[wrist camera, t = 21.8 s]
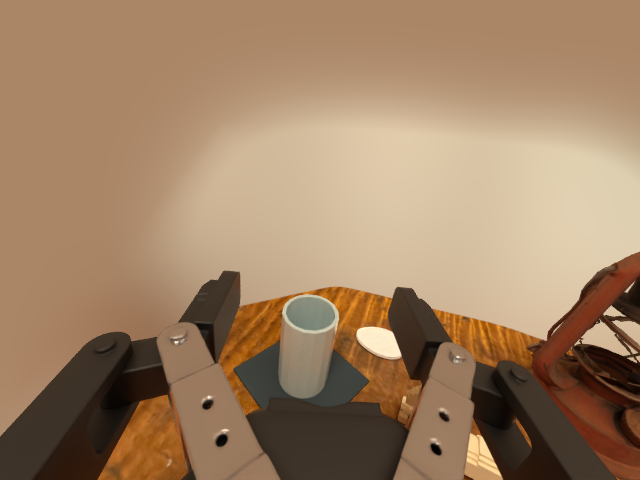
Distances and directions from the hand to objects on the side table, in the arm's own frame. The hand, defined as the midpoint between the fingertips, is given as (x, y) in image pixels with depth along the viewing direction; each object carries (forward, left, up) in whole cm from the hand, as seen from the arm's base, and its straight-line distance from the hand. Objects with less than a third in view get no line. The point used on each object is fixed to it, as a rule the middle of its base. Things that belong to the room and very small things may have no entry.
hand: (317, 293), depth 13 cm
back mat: (+8, +8, -21) cm, 23 cm away
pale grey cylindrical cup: (+8, +7, -21) cm, 23 cm away
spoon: (+23, -1, -21) cm, 31 cm away
